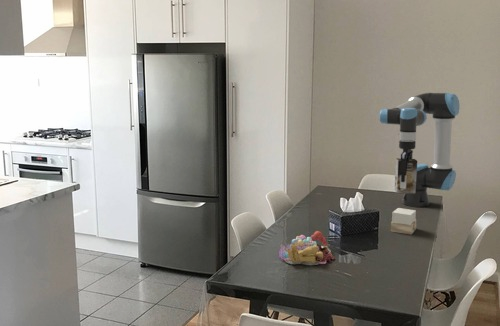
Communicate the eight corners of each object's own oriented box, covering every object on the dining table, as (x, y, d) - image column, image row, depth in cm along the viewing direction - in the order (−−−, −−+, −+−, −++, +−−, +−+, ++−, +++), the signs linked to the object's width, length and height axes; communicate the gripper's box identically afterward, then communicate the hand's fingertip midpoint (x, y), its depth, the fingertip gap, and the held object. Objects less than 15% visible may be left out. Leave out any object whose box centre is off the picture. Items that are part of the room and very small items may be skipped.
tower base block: (396, 226, 269) (396, 217, 268) (416, 229, 264) (416, 219, 263) (390, 232, 261) (391, 222, 260) (411, 235, 256) (411, 225, 255)
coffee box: (396, 193, 256) (397, 160, 253) (394, 190, 262) (395, 158, 259) (415, 193, 255) (417, 160, 252) (413, 190, 261) (414, 158, 258)
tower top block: (397, 217, 267) (397, 207, 266) (415, 220, 263) (415, 210, 262) (391, 222, 260) (392, 212, 259) (410, 224, 255) (410, 215, 254)
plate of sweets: (339, 266, 219) (339, 245, 217) (282, 268, 217) (282, 247, 215) (326, 245, 243) (326, 226, 242) (275, 247, 242) (275, 228, 240)
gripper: (405, 136, 264) (403, 181, 268) (393, 142, 246) (391, 190, 251) (420, 137, 260) (418, 182, 265) (410, 144, 243) (407, 192, 247)
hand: (405, 186), depth 258 cm, fingers closed on coffee box, 8 cm apart
